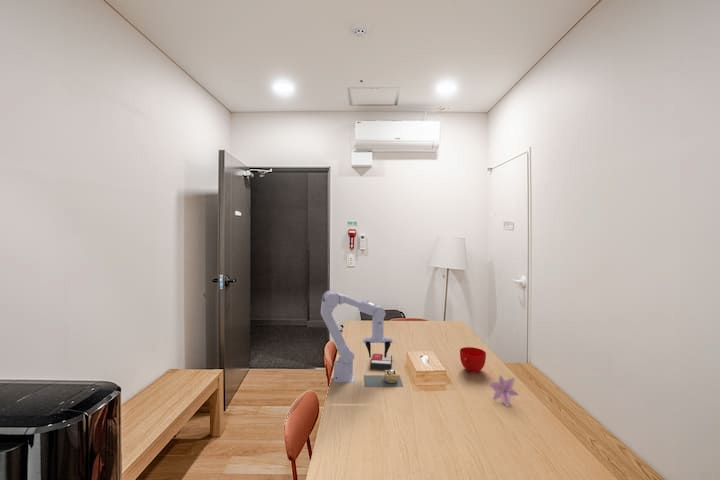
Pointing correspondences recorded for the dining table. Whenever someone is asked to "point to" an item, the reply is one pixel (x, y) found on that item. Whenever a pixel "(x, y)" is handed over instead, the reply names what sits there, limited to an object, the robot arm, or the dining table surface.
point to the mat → (380, 381)
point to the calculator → (381, 362)
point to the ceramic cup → (472, 359)
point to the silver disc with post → (390, 374)
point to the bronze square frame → (391, 376)
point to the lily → (503, 389)
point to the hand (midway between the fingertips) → (377, 356)
